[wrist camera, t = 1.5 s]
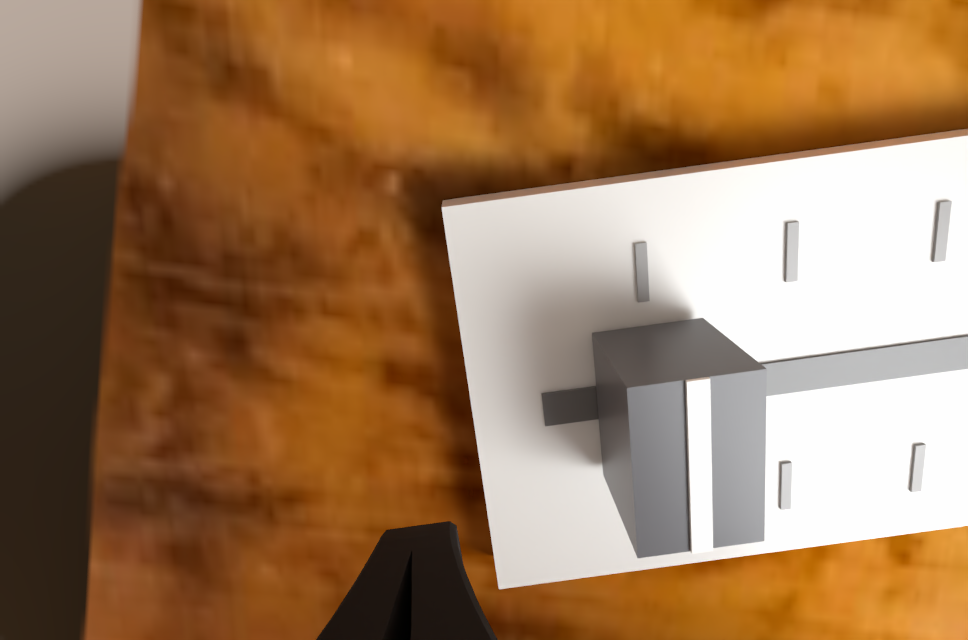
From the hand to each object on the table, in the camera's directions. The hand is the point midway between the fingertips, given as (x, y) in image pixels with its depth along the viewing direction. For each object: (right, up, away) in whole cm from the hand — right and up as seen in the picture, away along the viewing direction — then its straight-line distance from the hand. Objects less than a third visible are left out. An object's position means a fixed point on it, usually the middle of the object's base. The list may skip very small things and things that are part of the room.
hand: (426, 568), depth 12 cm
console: (+14, +4, +7) cm, 16 cm away
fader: (+6, +3, +5) cm, 8 cm away
